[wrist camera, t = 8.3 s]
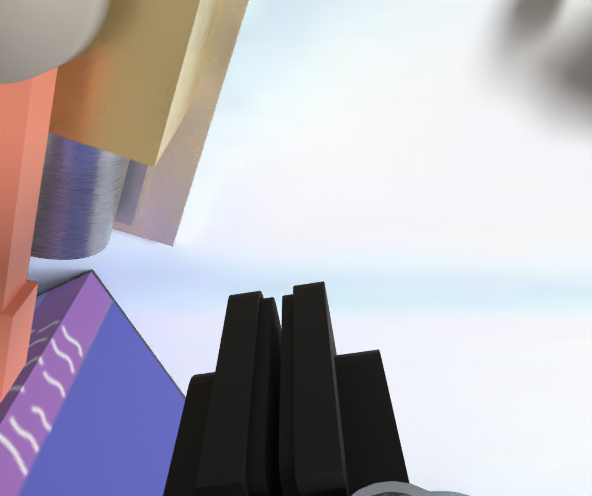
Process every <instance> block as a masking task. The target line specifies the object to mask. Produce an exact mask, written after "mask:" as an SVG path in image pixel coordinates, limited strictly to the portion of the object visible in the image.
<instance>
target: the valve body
mask: <svg viewBox="0 0 592 496" xmlns="http://www.w3.org/2000/svg"><path fill="white" fill-rule="evenodd" d="M248 2H249V0H110V5H109V9H108V13H107V17H106V19H105V22H104V24H103V27H102V29H101V30H100V32H99V34H98V36H97V37H96V39H95V40H94V41H93V42H92V44H91V45H90V46H89V47H88V48H87V49H86V50H85V51H84V52H83V53H82V54H81V55H79V56H78V57H76V58H75V59H73V60H72V61H70V62H68V63H65V64H63V65H61V66H59V67H58V69H57V76H56V83H55V90H54V97H53V104H52V110H51V117H50V124H49V131H48V138H47V145H46V151H45V158H44V165H43V172H42V179H41V186H40V192H39V199H38V206H37V213H36V220H35V227H34V233H33V240H32V247H31V254H30V256H33V257H38V258H45V259H56V260H70V259H79V258H85V257H89V256H92V255H95V254H97V253H99V252H100V251H102V250H103V249H104V248H105V247H106V246H107V245H108V242H109V239H110V235H111V232H112V228H114V229H117V230H121V231H124V232H127V233H131V234H134V235H137V236H140V237H144V238H147V239H150V240H154V241H157V242H160V243H163V244H167V245H170V246H173V244H174V241H175V238H176V235H177V232H178V229H179V226H180V222H181V219H182V216H183V213H184V209H185V206H186V203H187V200H188V196H189V193H190V190H191V187H192V183H193V180H194V177H195V174H196V171H197V167H198V164H199V161H200V158H201V154H202V151H203V148H204V145H205V141H206V138H207V135H208V132H209V128H210V125H211V122H212V119H213V116H214V112H215V109H216V106H217V103H218V99H219V96H220V93H221V90H222V86H223V83H224V80H225V77H226V73H227V70H228V67H229V64H230V61H231V57H232V54H233V51H234V48H235V44H236V41H237V38H238V35H239V31H240V28H241V25H242V22H243V18H244V15H245V12H246V9H247V6H248Z"/></svg>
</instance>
